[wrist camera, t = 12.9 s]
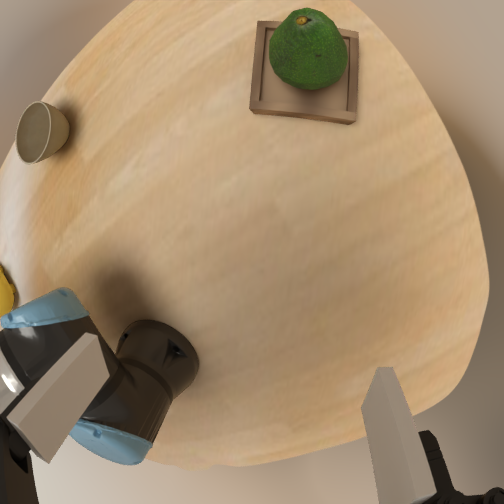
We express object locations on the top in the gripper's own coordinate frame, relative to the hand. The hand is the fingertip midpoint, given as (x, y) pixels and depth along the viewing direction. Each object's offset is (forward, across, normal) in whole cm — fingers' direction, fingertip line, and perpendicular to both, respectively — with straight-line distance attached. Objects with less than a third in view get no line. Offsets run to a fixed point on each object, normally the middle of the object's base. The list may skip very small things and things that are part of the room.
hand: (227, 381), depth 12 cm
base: (+27, +4, +21) cm, 34 cm away
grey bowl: (+28, -35, +16) cm, 48 cm away
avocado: (+24, +4, +21) cm, 32 cm away
